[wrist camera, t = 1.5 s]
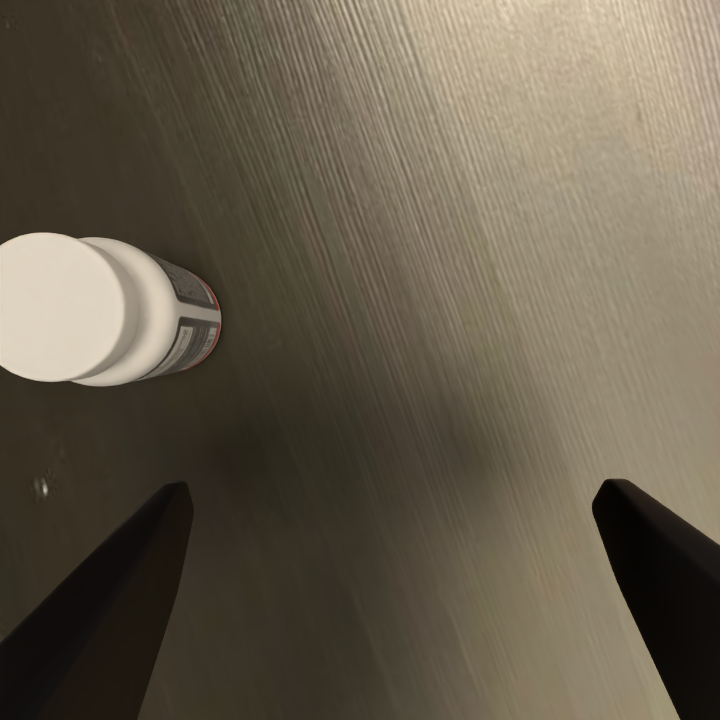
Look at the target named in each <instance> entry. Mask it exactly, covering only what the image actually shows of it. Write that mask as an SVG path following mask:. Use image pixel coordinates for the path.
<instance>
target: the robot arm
mask: <svg viewBox="0 0 720 720" xmlns="http://www.w3.org/2000/svg"><path fill="white" fill-rule="evenodd" d="M592 512H593V515H594V518H595V521H596V524H597V527H598V530H599V533H600V536H601V538H602V541H603V544H604V547H605V550H606V553H607V556H608V558H609V561H610V564H611V567H612V570H613V572H614V575H615V578H616V580H617V583H618V585H619V587H620V590H621V592H622V594H623V596H624V599H625V601H626V603H627V605H628V607H629V609H630V612H631V614H632V616H633V618H634V620H635V622H636V625H637V627H638V629H639V631H640V633H641V635H642V638H643V640H644V642H645V644H646V646H647V648H648V651H649V653H650V655H651V657H652V659H653V661H654V664H655V666H656V668H657V670H658V672H659V674H660V677H661V679H662V681H663V683H664V685H665V688H666V690H667V692H668V694H669V696H670V698H671V701H672V703H673V705H674V707H675V709H676V711H677V714H678V716H679V718H680V720H720V545H719V544H717V543H716V542H714V541H713V540H712V539H710V538H709V537H707V536H706V535H705V534H703V533H702V532H700V531H699V530H697V529H696V528H695V527H693V526H692V525H690V524H689V523H688V522H686V521H685V520H683V519H682V518H681V517H679V516H678V515H676V514H675V513H674V512H672V511H671V510H669V509H668V508H667V507H665V506H664V505H662V504H661V503H660V502H658V501H657V500H655V499H654V498H653V497H651V496H650V495H648V494H647V493H646V492H644V491H643V490H641V489H640V488H639V487H637V486H636V485H634V484H633V483H631V482H630V481H628V480H626V479H607V480H605V481H604V482H603V484H602V485H601V487H600V489H599V491H598V493H597V495H596V496H595V498H594V500H593V502H592ZM193 514H194V507H193V503H192V499H191V496H190V492H189V488H188V485H187V483H186V482H183V481H168V482H165V483H163V484H162V485H161V486H160V487H159V488H158V489H157V490H156V491H155V492H154V493H152V494H151V495H150V496H149V497H148V498H147V499H146V500H145V501H144V502H143V503H142V504H141V505H140V506H139V507H138V508H137V509H136V510H135V511H134V512H133V513H132V514H131V515H130V516H129V517H128V518H127V519H126V520H125V521H124V522H123V523H122V524H121V525H120V526H119V527H118V528H117V529H116V530H115V531H114V532H113V533H112V534H111V535H110V536H109V537H108V538H107V539H105V540H104V541H103V542H102V543H101V544H100V545H99V546H98V547H97V548H96V549H95V550H94V551H93V552H92V553H91V554H90V555H89V556H88V557H87V558H86V559H85V560H84V561H83V562H82V563H81V564H80V565H79V566H78V567H77V568H76V569H75V570H74V571H73V572H72V573H71V574H70V575H69V576H68V577H67V578H66V579H65V580H64V581H63V582H62V583H61V584H60V585H58V586H57V587H56V588H55V589H54V590H53V591H52V592H51V593H50V594H49V595H48V596H47V597H46V598H45V599H44V600H43V601H42V602H41V603H40V604H39V605H38V606H37V607H36V608H35V609H34V610H33V611H32V612H31V613H30V614H29V615H28V616H27V617H26V618H25V619H24V620H23V621H22V622H21V623H20V624H19V625H18V626H17V627H16V628H15V629H14V630H13V631H11V632H10V633H9V634H8V635H7V636H6V637H5V638H4V639H3V640H2V641H1V642H0V720H137V718H138V715H139V712H140V709H141V705H142V702H143V699H144V696H145V693H146V690H147V687H148V684H149V680H150V677H151V674H152V671H153V668H154V665H155V662H156V659H157V655H158V652H159V649H160V646H161V643H162V640H163V637H164V634H165V631H166V627H167V624H168V621H169V618H170V615H171V612H172V609H173V606H174V602H175V599H176V595H177V592H178V588H179V583H180V579H181V574H182V569H183V564H184V559H185V555H186V550H187V545H188V540H189V535H190V530H191V525H192V521H193Z"/></svg>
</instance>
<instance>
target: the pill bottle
mask: <svg viewBox="0 0 720 720" xmlns="http://www.w3.org/2000/svg"><path fill="white" fill-rule="evenodd" d="M220 330H221V312H220V308H219V304H218V302H217V299H216V297H215V295H214V294H213V292H212V290H211V289H210V288H209V287H208V285H207V284H206V283H205V282H204V281H203V280H201V279H200V278H199V277H197V276H196V275H195V274H193V273H191V272H190V271H188V270H186V269H183V268H181V267H178V266H176V265H174V264H172V263H170V262H167V261H165V260H163V259H161V258H158V257H156V256H154V255H152V254H150V253H147V252H145V251H143V250H141V249H139V248H137V247H134V246H132V245H129V244H126V243H123V242H120V241H117V240H113V239H107V238H97V237H90V238H80V239H75V238H72V237H69V236H66V235H61V234H54V233H33V234H27V235H23V236H19V237H16V238H14V239H11V240H9V241H7V242H5V243H4V244H2V245H0V365H1V366H2V367H4V368H5V369H7V370H8V371H10V372H12V373H14V374H16V375H19V376H21V377H24V378H27V379H32V380H36V381H44V382H57V381H72V382H75V383H79V384H83V385H90V386H113V385H120V384H126V383H130V382H134V381H138V380H143V379H148V378H152V377H157V376H162V375H167V374H171V373H176V372H181V371H184V370H187V369H189V368H191V367H193V366H195V365H197V364H198V363H200V362H201V361H202V360H204V359H205V358H206V357H207V356H208V355H209V354H210V352H211V351H212V350H213V348H214V347H215V345H216V343H217V340H218V338H219V334H220Z"/></svg>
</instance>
